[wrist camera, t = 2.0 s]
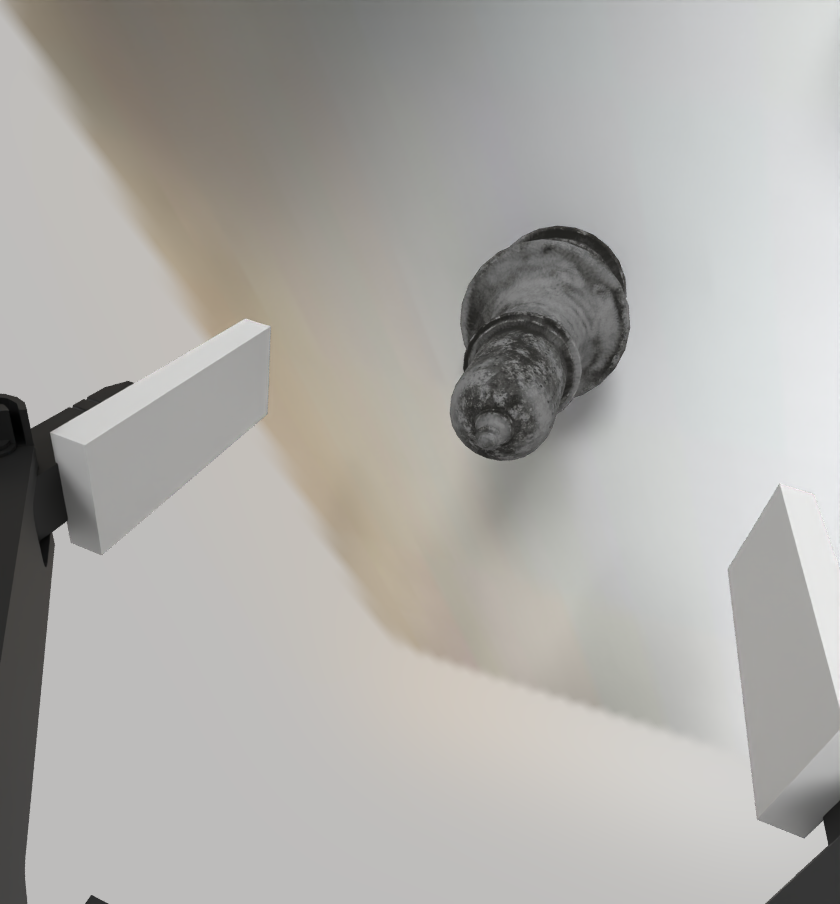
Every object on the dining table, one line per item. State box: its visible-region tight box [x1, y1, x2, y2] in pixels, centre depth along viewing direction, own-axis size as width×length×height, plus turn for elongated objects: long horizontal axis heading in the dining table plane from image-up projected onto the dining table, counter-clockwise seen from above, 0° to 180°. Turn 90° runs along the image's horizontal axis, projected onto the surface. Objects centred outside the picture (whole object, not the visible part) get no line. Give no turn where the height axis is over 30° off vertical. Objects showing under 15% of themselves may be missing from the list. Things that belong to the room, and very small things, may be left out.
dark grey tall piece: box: [450, 226, 630, 461], centre depth 20 cm, size 6×6×12 cm
